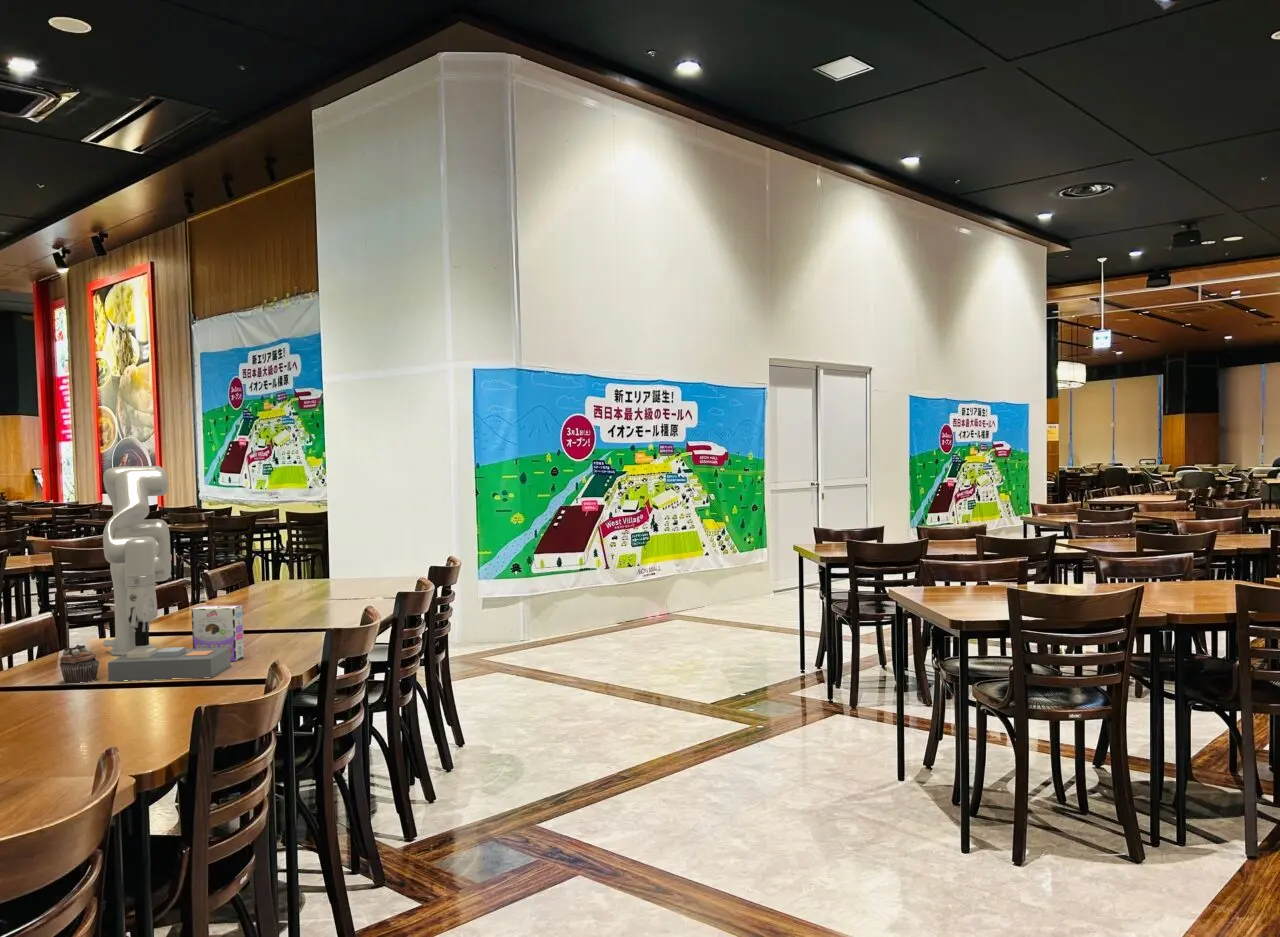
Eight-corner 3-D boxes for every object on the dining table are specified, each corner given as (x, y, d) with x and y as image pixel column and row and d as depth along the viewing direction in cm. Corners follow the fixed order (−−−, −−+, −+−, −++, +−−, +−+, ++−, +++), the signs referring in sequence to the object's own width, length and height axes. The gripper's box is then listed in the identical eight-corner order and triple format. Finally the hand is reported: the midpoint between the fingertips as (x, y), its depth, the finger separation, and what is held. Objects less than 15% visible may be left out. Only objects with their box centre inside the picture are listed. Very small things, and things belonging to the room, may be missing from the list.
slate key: (156, 664, 278) (155, 651, 278) (164, 659, 284) (164, 647, 284) (177, 663, 279) (177, 651, 279) (186, 659, 285) (185, 647, 285)
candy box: (245, 657, 302) (243, 604, 302) (235, 661, 296) (233, 607, 296) (202, 657, 304) (201, 605, 303) (192, 661, 298) (190, 608, 297)
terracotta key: (185, 667, 279) (184, 655, 279) (193, 663, 285) (192, 651, 285) (206, 666, 279) (206, 654, 279) (214, 662, 285) (214, 650, 285)
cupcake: (82, 685, 269) (81, 649, 269) (52, 684, 271) (51, 648, 271) (107, 677, 279) (106, 642, 278) (78, 676, 280) (77, 641, 280)
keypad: (108, 681, 272) (107, 662, 272) (133, 669, 288) (133, 650, 288) (211, 678, 274) (210, 658, 274) (231, 665, 290) (230, 647, 290)
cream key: (127, 665, 278) (126, 652, 278) (136, 660, 284) (136, 648, 284) (148, 664, 278) (148, 652, 278) (157, 659, 284) (157, 648, 284)
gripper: (142, 584, 273) (144, 650, 273) (164, 578, 288) (166, 640, 288) (114, 585, 273) (116, 651, 273) (138, 579, 288) (140, 641, 288)
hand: (142, 645), depth 281 cm, fingers closed
